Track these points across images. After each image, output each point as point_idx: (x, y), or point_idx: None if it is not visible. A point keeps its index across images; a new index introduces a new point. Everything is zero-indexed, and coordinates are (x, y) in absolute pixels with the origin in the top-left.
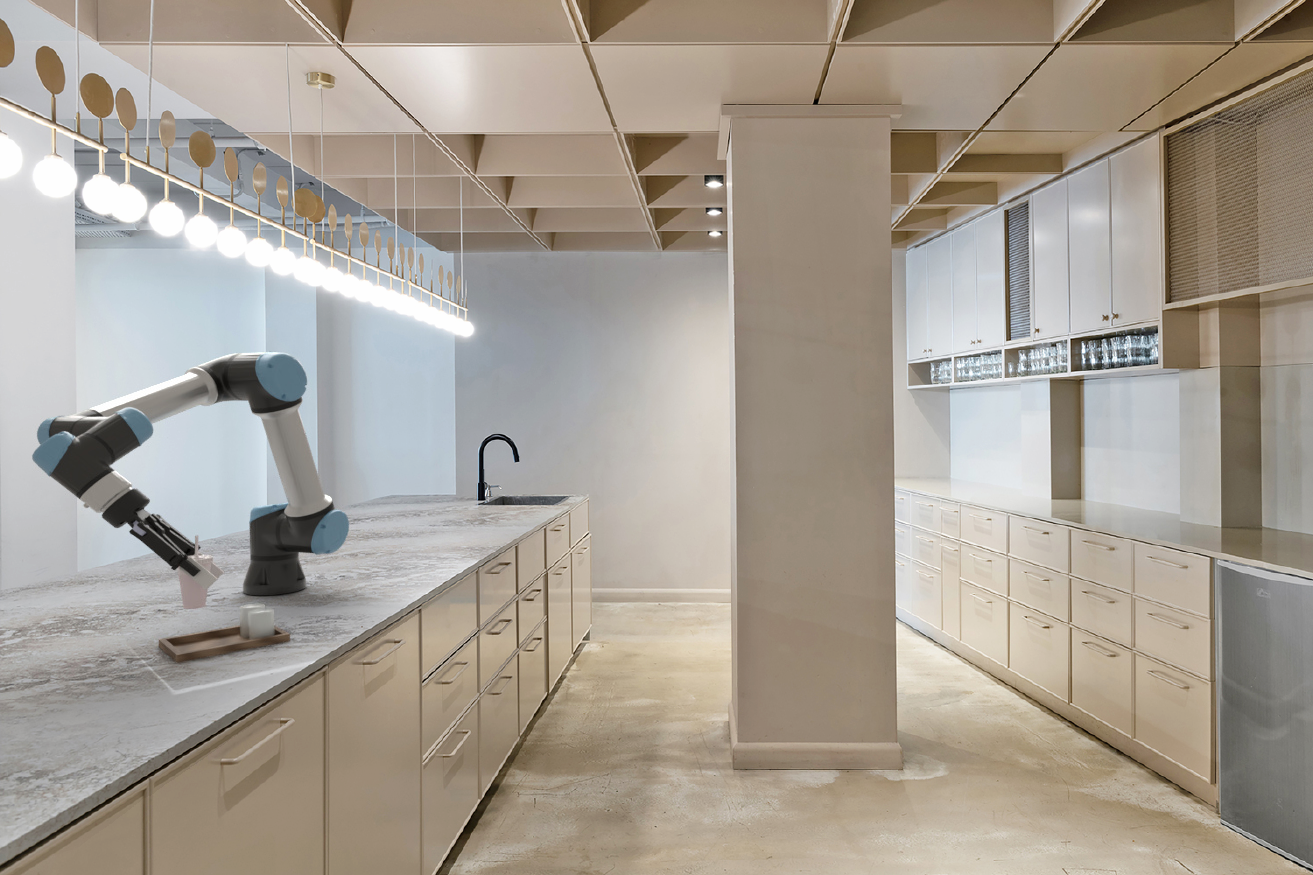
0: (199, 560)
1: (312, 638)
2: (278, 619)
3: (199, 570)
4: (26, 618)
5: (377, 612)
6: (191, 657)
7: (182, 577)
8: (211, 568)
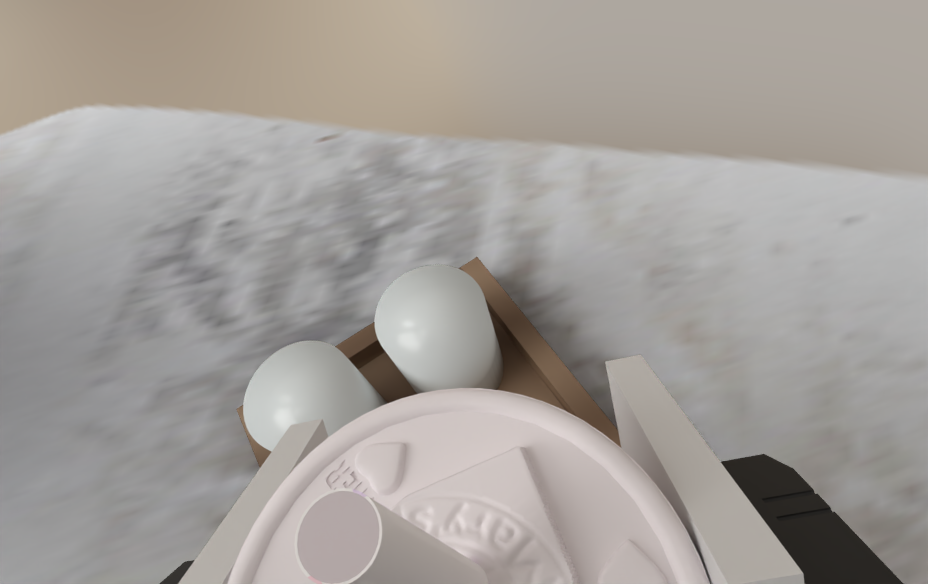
0: (645, 479)
1: (430, 229)
2: (105, 425)
3: (745, 462)
4: None
5: (172, 143)
6: None
7: None
8: None
